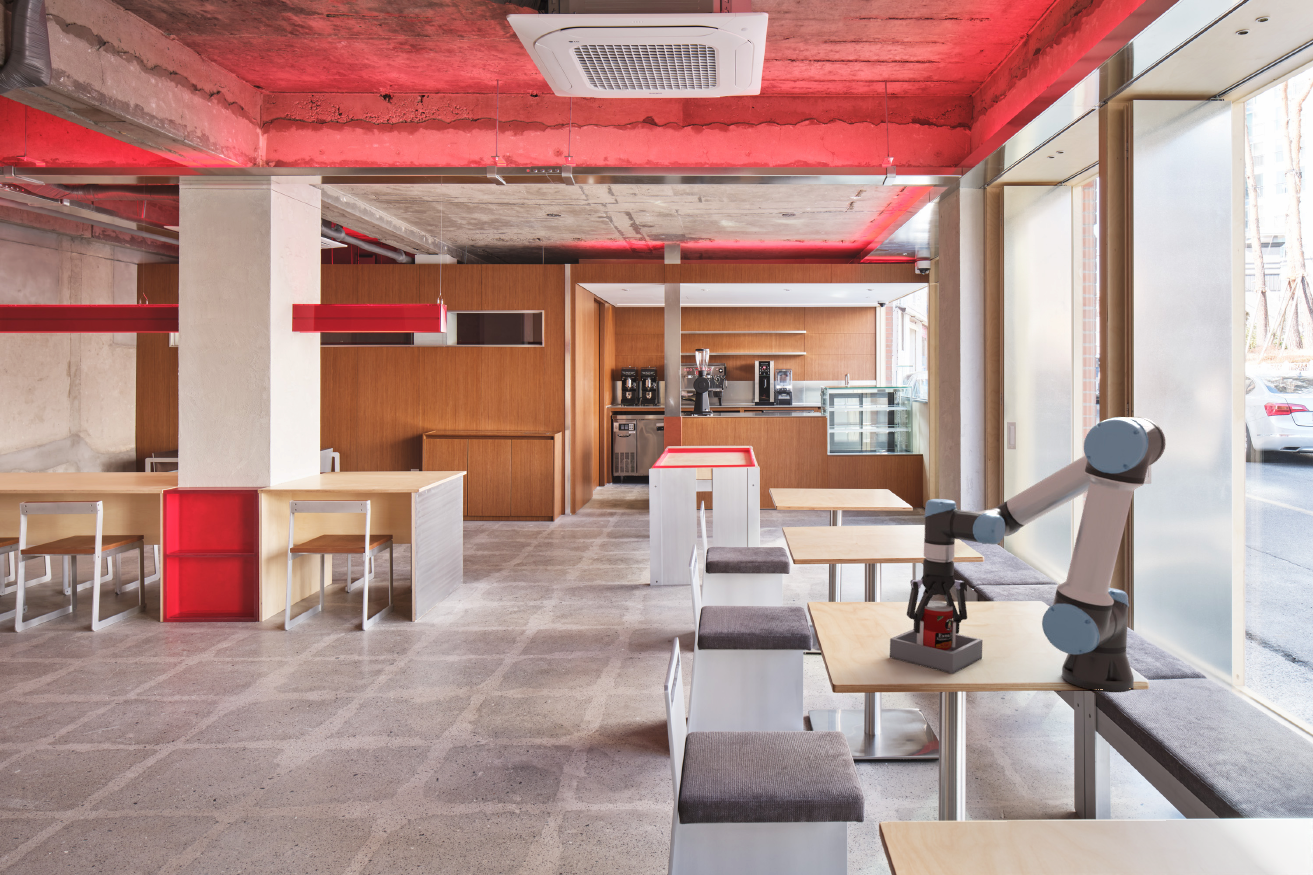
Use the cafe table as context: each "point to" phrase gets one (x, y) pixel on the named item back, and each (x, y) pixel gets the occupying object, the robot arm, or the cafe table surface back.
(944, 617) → the canned food
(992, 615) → the cafe table surface
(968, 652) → the box
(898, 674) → the cafe table surface
